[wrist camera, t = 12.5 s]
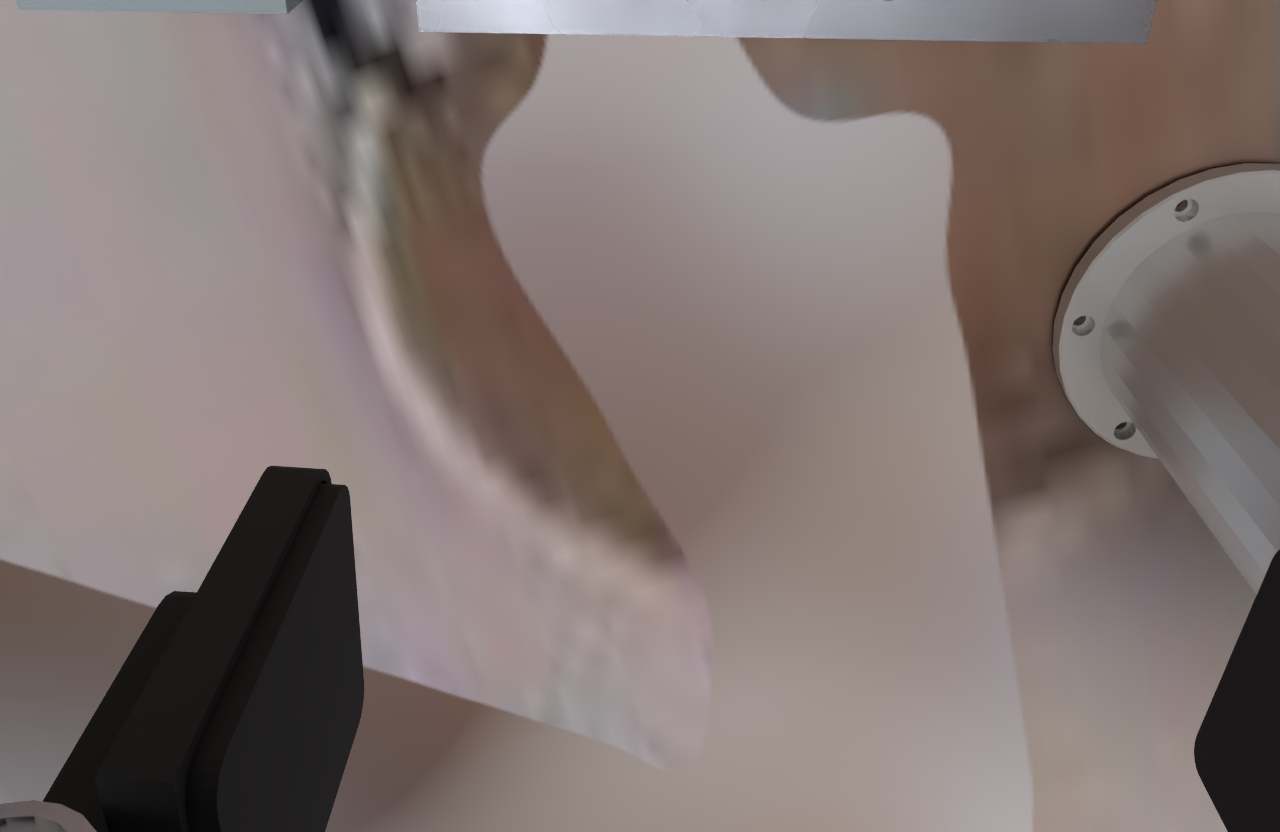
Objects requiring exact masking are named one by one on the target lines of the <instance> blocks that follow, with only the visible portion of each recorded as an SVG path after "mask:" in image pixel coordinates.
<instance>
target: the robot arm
mask: <svg viewBox="0 0 1280 832" xmlns="http://www.w3.org/2000/svg"><path fill="white" fill-rule="evenodd" d="M1181 201H1182V203H1181V204H1180V205H1179V206H1178V207H1176V206H1177V205H1178V204H1179V203H1180V202H1181ZM1079 317H1080V318H1079ZM1078 318H1079V319H1078ZM1076 319H1078V320H1076ZM1052 349H1053V356H1054V362H1055V369H1056V374H1057V376H1058V379H1059V381H1060V384H1061V386H1062V388H1063V391H1064V393H1065V396H1066V397H1067V399H1068V400H1069V402H1070V403H1071V405H1072V406H1073V408H1074V409H1075V411H1076V412H1077V414H1078V416H1079V417H1080V418H1081V419H1082V420H1083V421H1084V422H1085V423H1086V424H1087V425H1088V426H1089V427H1090V428H1091V429H1092V430H1093V431H1094V433H1096V434H1097V435H1098V436H1100V437H1101V438H1103V439H1104V440H1106V441H1107V442H1109V443H1110V444H1112V445H1114V446H1115V447H1118V448H1120V449H1123V450H1126V451H1128V452H1131V453H1133V454H1136V455H1139V456H1143V457H1148V458H1154V459H1159V460H1160V461H1161V463H1162V464H1163V465H1164V467H1165V468H1166V470H1167V471H1168V472H1169V474H1170V475H1171V477H1172V478H1173V479H1174V481H1175V482H1176V484H1177V485H1178V486H1179V488H1180V489H1181V491H1182V492H1183V494H1184V495H1185V496H1186V498H1187V499H1188V501H1189V502H1190V503H1191V505H1192V506H1193V508H1194V509H1195V510H1196V512H1197V513H1198V515H1199V516H1200V517H1201V519H1202V520H1203V522H1204V523H1205V524H1206V526H1207V527H1208V529H1209V530H1210V531H1211V533H1212V534H1213V536H1214V537H1215V538H1216V540H1217V541H1218V543H1219V544H1220V545H1221V547H1222V548H1223V550H1224V551H1225V552H1226V554H1227V555H1228V557H1229V558H1230V560H1231V561H1232V562H1233V564H1234V565H1235V567H1236V568H1237V569H1238V571H1239V572H1240V574H1241V575H1242V576H1243V578H1244V579H1245V581H1246V582H1247V583H1248V585H1249V586H1250V588H1251V589H1252V590H1253V592H1254V593H1255V595H1256V598H1255V600H1254V603H1253V605H1252V608H1251V610H1250V612H1249V615H1248V617H1247V619H1246V622H1245V624H1244V626H1243V629H1242V631H1241V633H1240V636H1239V638H1238V640H1237V643H1236V645H1235V647H1234V650H1233V652H1232V654H1231V657H1230V659H1229V661H1228V664H1227V666H1226V668H1225V671H1224V673H1223V676H1222V678H1221V680H1220V683H1219V685H1218V687H1217V690H1216V692H1215V694H1214V697H1213V699H1212V701H1211V704H1210V706H1209V708H1208V711H1207V713H1206V715H1205V718H1204V720H1203V722H1202V725H1201V727H1200V729H1199V732H1198V734H1197V737H1196V741H1195V748H1194V756H1195V764H1196V768H1197V771H1198V774H1199V776H1200V778H1201V780H1202V782H1203V784H1204V786H1205V788H1206V790H1207V792H1208V794H1209V796H1210V798H1211V800H1212V802H1213V804H1214V806H1215V808H1216V809H1217V811H1218V813H1219V815H1220V817H1221V819H1222V821H1223V823H1224V825H1225V827H1226V829H1227V831H1228V832H1280V164H1270V163H1243V164H1237V165H1231V166H1225V167H1219V168H1213V169H1209V170H1207V171H1204V172H1201V173H1198V174H1195V175H1192V176H1189V177H1186V178H1183V179H1180V180H1178V181H1176V182H1174V183H1172V184H1170V185H1168V186H1166V187H1164V188H1162V189H1160V190H1158V191H1156V192H1154V193H1153V194H1151V195H1149V196H1147V197H1146V198H1144V199H1143V200H1141V201H1140V202H1139V203H1137V204H1136V205H1135V206H1133V207H1132V208H1130V209H1129V210H1128V211H1126V212H1125V213H1124V214H1122V215H1121V216H1119V217H1118V218H1117V219H1116V220H1115V221H1114V222H1113V223H1112V224H1111V225H1110V226H1109V227H1108V228H1107V229H1106V230H1105V231H1104V232H1103V233H1102V234H1101V235H1100V236H1099V237H1098V238H1097V239H1096V240H1095V241H1094V243H1093V244H1092V245H1091V247H1090V248H1089V249H1088V251H1087V252H1086V254H1085V255H1084V256H1083V258H1082V259H1081V260H1080V262H1079V263H1078V265H1077V266H1076V267H1075V269H1074V271H1073V273H1072V275H1071V277H1070V279H1069V281H1068V283H1067V285H1066V287H1065V289H1064V292H1063V294H1062V296H1061V300H1060V303H1059V307H1058V310H1057V314H1056V318H1055V321H1054V333H1053V347H1052ZM363 699H364V678H363V665H362V652H361V638H360V625H359V612H358V599H357V585H356V572H355V559H354V545H353V532H352V519H351V506H350V495H349V490H348V487H347V486H346V485H335V484H331V478H330V475H329V472H328V471H327V470H325V469H312V468H297V467H281V466H270V467H267V469H266V470H265V471H264V473H263V474H262V476H261V478H260V480H259V482H258V483H257V485H256V487H255V489H254V491H253V492H252V494H251V496H250V498H249V500H248V501H247V503H246V505H245V507H244V509H243V510H242V512H241V514H240V516H239V518H238V520H237V521H236V523H235V525H234V527H233V529H232V530H231V532H230V534H229V536H228V538H227V539H226V541H225V543H224V545H223V547H222V548H221V550H220V552H219V554H218V556H217V557H216V559H215V561H214V563H213V565H212V566H211V568H210V570H209V572H208V574H207V576H206V577H205V579H204V581H203V583H202V585H201V586H200V588H199V590H198V592H197V593H194V592H179V591H174V592H172V593H170V594H168V595H166V596H165V598H164V599H163V600H162V602H161V603H160V604H159V605H158V607H157V609H156V610H155V612H154V614H153V615H152V617H151V619H150V620H149V622H148V624H147V626H146V627H145V629H144V631H143V632H142V634H141V636H140V637H139V639H138V641H137V642H136V644H135V646H134V648H133V649H132V651H131V653H130V654H129V656H128V658H127V659H126V661H125V663H124V664H123V666H122V668H121V670H120V671H119V673H118V675H117V676H116V678H115V680H114V681H113V683H112V685H111V687H110V688H109V690H108V692H107V693H106V695H105V697H104V698H103V700H102V702H101V704H100V705H99V707H98V709H97V710H96V712H95V714H94V715H93V717H92V719H91V720H90V722H89V724H88V725H87V727H86V729H85V731H84V732H83V734H82V736H81V737H80V739H79V741H78V742H77V744H76V746H75V748H74V749H73V751H72V753H71V754H70V756H69V758H68V759H67V761H66V763H65V764H64V766H63V768H62V770H61V771H60V773H59V775H58V776H57V778H56V780H55V781H54V783H53V785H52V787H51V788H50V790H49V792H48V793H47V795H46V797H45V798H44V800H43V802H42V801H34V800H32V801H22V802H13V803H4V804H0V832H325V830H326V827H327V823H328V820H329V817H330V814H331V811H332V807H333V804H334V801H335V798H336V795H337V792H338V788H339V785H340V782H341V779H342V776H343V772H344V769H345V766H346V763H347V760H348V757H349V754H350V750H351V747H352V744H353V741H354V738H355V735H356V731H357V728H358V725H359V721H360V718H361V713H362V707H363Z"/></svg>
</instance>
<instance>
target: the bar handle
mask: <svg viewBox="0 0 1280 832" xmlns="http://www.w3.org/2000/svg"><path fill="white" fill-rule="evenodd" d="M416 2H417V14H418V27H419V32H464V33H523V34H584V35H641V36H642V35H643V36H703V37H759V38H818V39H877V40H936V41H995V42H1054V43H1113V44H1146V43H1147V39H1148V35H1149V31H1150V27H1151V23H1152V19H1153V14H1154V10H1155V6H1156V2H1157V0H416Z"/></svg>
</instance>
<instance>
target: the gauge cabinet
mask: <svg viewBox="0 0 1280 832" xmlns="http://www.w3.org/2000/svg"><path fill="white" fill-rule="evenodd" d="M301 1H302V0H16V2H17V6H18V9H22V10H80V11H138V12H196V13H254V14H288V13H289V12H290V11H291V10H292V9H294V8H295V7H296V6H297V5H298V4H299V3H300V2H301Z"/></svg>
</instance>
